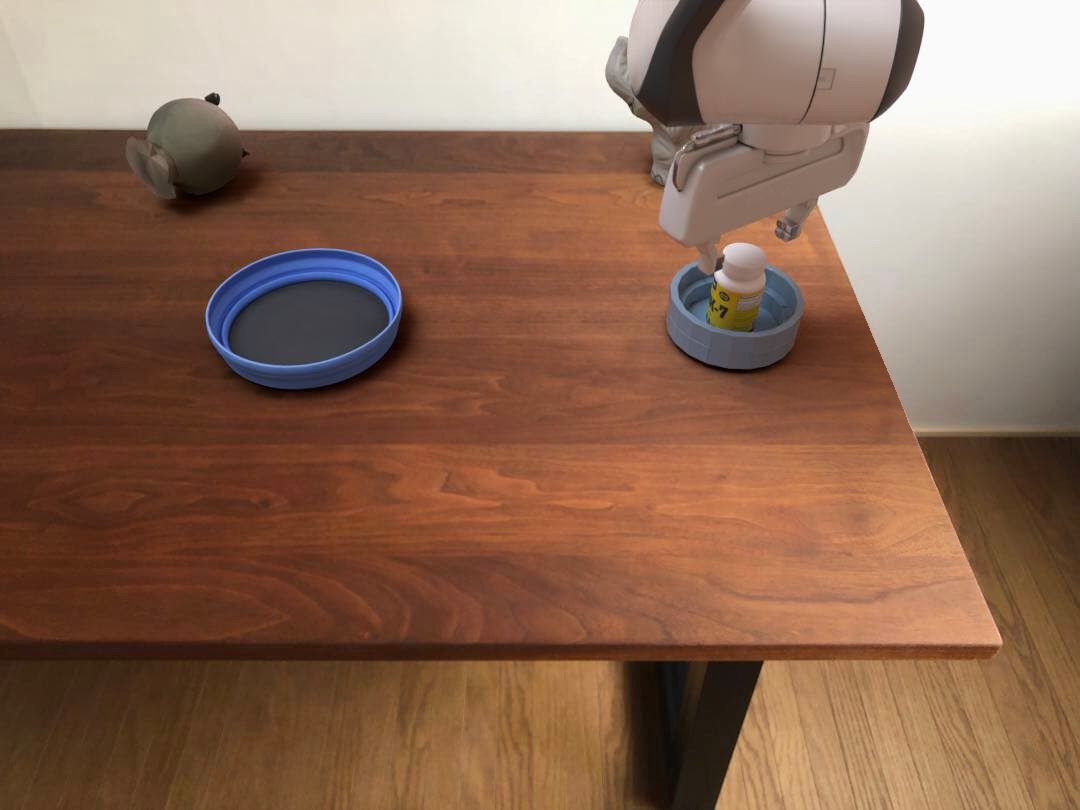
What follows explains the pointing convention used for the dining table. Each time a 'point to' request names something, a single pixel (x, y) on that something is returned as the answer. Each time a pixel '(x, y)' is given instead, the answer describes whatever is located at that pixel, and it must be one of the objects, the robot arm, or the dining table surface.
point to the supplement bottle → (737, 288)
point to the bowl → (305, 317)
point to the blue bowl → (731, 347)
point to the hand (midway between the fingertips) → (748, 253)
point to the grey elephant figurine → (648, 114)
